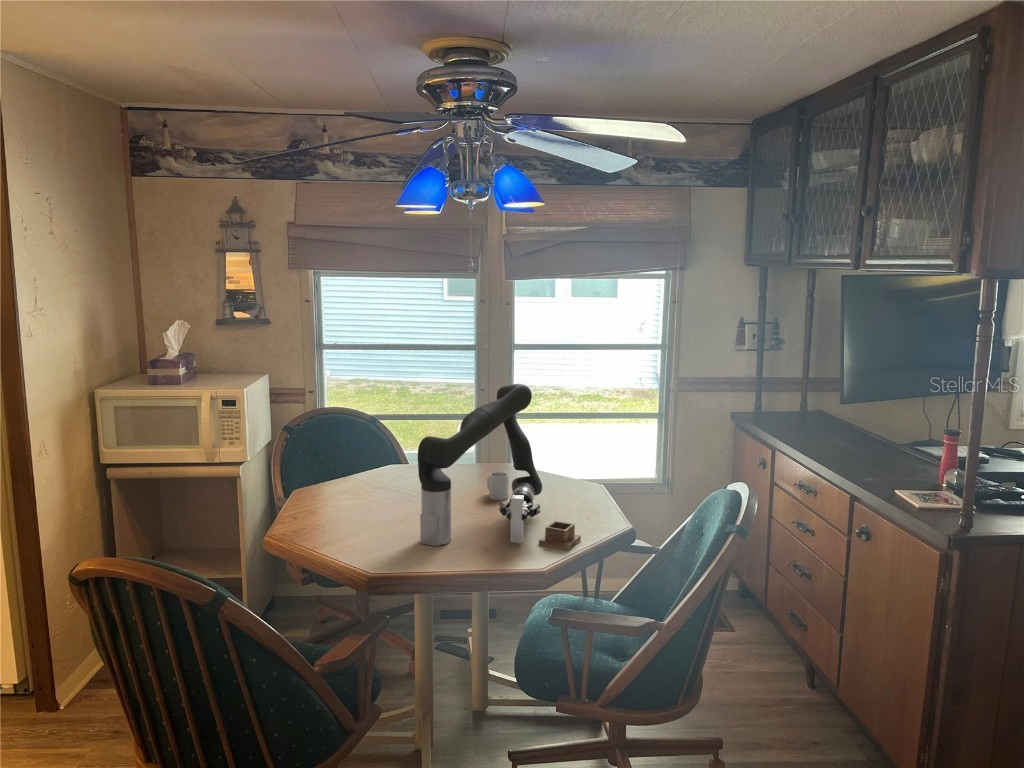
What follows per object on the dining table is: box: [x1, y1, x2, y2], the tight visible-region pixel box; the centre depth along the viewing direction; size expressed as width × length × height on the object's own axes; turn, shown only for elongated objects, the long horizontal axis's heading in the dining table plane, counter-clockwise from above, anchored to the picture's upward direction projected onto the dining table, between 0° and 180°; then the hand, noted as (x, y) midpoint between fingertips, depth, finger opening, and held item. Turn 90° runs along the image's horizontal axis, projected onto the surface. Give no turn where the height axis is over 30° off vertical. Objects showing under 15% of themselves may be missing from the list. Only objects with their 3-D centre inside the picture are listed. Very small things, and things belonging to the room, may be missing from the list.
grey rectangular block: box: [509, 494, 524, 544], centre depth 232 cm, size 4×4×14 cm
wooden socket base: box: [538, 520, 582, 551], centre depth 236 cm, size 10×10×6 cm
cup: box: [486, 471, 510, 501], centre depth 282 cm, size 7×10×9 cm
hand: (516, 517), depth 229 cm, fingers closed on grey rectangular block, 3 cm apart
